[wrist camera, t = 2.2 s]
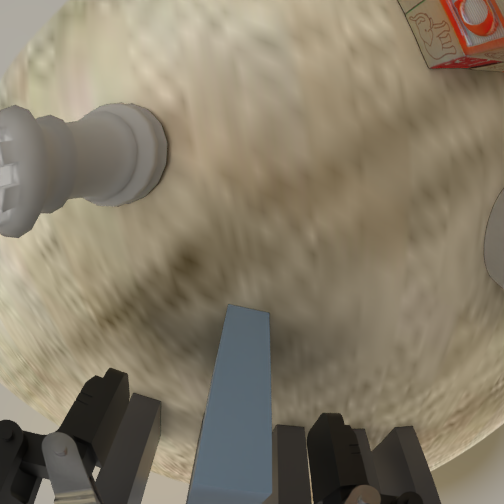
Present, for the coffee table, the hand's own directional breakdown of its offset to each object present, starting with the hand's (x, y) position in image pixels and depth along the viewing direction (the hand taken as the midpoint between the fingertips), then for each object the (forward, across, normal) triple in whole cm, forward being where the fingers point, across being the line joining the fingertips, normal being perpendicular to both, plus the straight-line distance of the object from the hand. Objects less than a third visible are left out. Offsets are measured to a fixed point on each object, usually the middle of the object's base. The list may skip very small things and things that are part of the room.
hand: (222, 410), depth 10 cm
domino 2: (+4, -6, +9) cm, 12 cm away
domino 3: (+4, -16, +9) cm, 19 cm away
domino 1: (+5, +4, +9) cm, 11 cm away
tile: (+5, 0, 0) cm, 5 cm away
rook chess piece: (+5, +7, -8) cm, 12 cm away
